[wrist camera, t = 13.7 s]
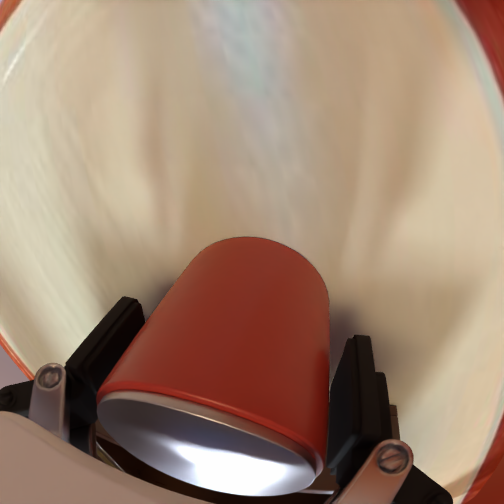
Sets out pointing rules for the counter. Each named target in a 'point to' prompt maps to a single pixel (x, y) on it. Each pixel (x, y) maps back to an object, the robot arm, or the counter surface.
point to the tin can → (229, 374)
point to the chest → (306, 500)
